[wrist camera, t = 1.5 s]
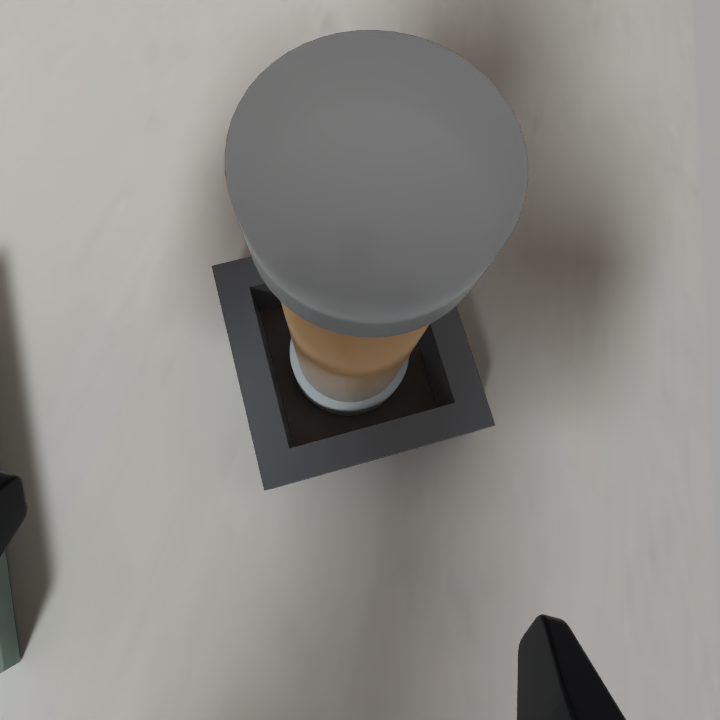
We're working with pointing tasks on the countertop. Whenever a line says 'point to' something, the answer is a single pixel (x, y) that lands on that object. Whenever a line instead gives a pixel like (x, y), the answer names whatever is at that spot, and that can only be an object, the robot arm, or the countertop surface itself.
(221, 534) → the countertop surface
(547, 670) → the robot arm
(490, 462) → the countertop surface
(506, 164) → the disc
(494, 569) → the countertop surface
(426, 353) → the fuse socket
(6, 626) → the parts tray
